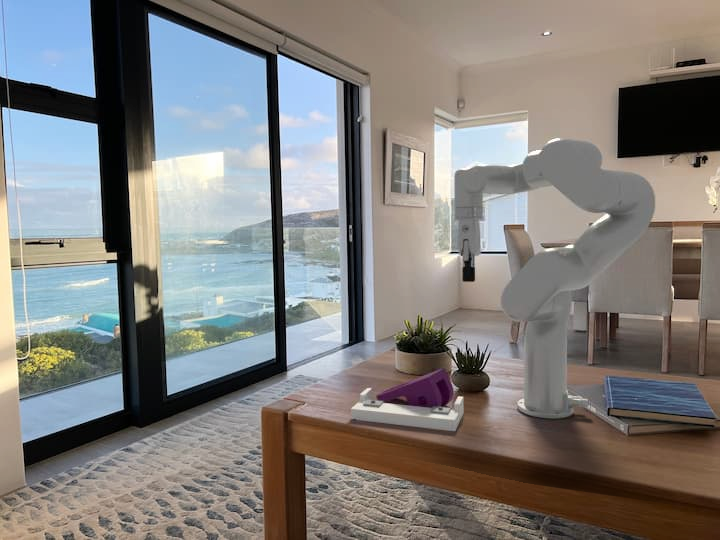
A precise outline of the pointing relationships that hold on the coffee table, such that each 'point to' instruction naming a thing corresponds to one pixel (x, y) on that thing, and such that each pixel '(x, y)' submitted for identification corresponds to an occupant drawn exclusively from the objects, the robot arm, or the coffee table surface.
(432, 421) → the white bolted base plate
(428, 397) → the mounting bracket
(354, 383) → the coffee table surface
